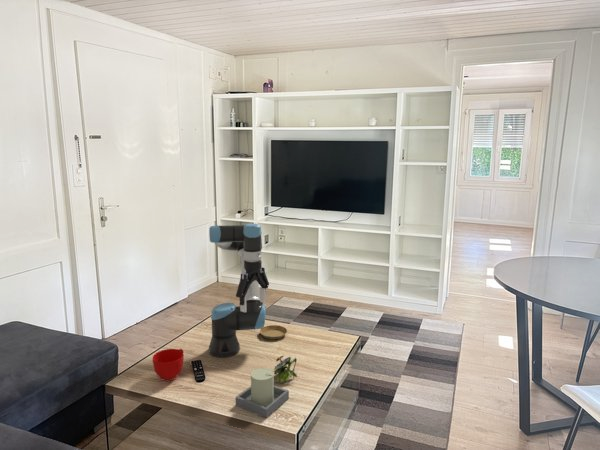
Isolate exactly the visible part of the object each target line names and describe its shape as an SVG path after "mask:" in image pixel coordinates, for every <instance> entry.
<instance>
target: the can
mask: <svg viewBox="0 0 600 450" xmlns="http://www.w3.org/2000/svg"><path fill="white" fill-rule="evenodd" d="M273 371H274V370H272V369H271V368H267V367H260V368H256V369H254V370H252V371H251V373H250V386H251V402H254V403H256V404H259V405H261V406H264V407H267V406H268V405H269V404H271V403H272V402H273V401H274V386H275V385H274V382H275V381H274V378H275V374H274V372H273Z"/></svg>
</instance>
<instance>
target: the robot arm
mask: <svg viewBox="0 0 600 450" xmlns="http://www.w3.org/2000/svg"><path fill="white" fill-rule="evenodd" d="M208 229H209V230H208V231H209V233H208V234H209V242H210V243H214V244H215V246H216V247H217V248H219V249H222V250H226V251H231V252H232V251H237V254H238V255H239V256H240V265H241V266H240V268H241V270H240V271H241V273H240V277H239V278H240V279H239V283H238V286H237V289H236V294H235V297H236V298H239V306H237V305H236V304H235V303H233V302H223V303H219V304H216V305H215V306H214V307H213V308H212V310H211V316H210V319H211V339H210V343H209V346H208V353H209V354H210V355H211V356H213V357H216V358H228V357H232V356H235V355H237V354H238V353H239V352H240V350H241V349H240V348H241V345H240V342H239V340H238V337H237V331H250V330H251V331H252V330H254V331H256V330H261V329H262V328H263V327H265V324H266V312H267V305H266V303H267V302H266V299H267V297H266V295H267V289H269V285H270V282H269V280H268V277H267V273H266V271H265V270H266V269H265V267H262V264H263V263H262V250H263V242H262V226H261V225H260V224H259V223H246V224H238V225H236V224H235V225H219V224H217V225H210V226H209V228H208ZM264 303H265V304H264Z"/></svg>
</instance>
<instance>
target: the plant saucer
mask: <svg viewBox="0 0 600 450" xmlns="http://www.w3.org/2000/svg"><path fill="white" fill-rule="evenodd" d="M287 332H288V329H287V328H286V327H284V326H282V325H275V324H271V325H264V327H263V328H262V329H259V333H260V334H261V336H263V337H264V338H265V339H268V340H278V339H282V338H283V337H284V336H286V334H287Z"/></svg>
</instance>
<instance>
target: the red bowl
mask: <svg viewBox="0 0 600 450" xmlns="http://www.w3.org/2000/svg"><path fill="white" fill-rule="evenodd" d="M184 360H185V359H184V349H183V348H179V349H178V348H167V349H163V350H159V351H158V352H156V353H155V354H153V356H152V366H153V369H154V372H155V374H156V375H157V376H158V377H159V378H160V379H163V381H165V380H169V381H172V379H173V380H175V379H176V378H178V376H179V375H180V373H181V372H182V369H183V366H184ZM174 378H175V379H174Z"/></svg>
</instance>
